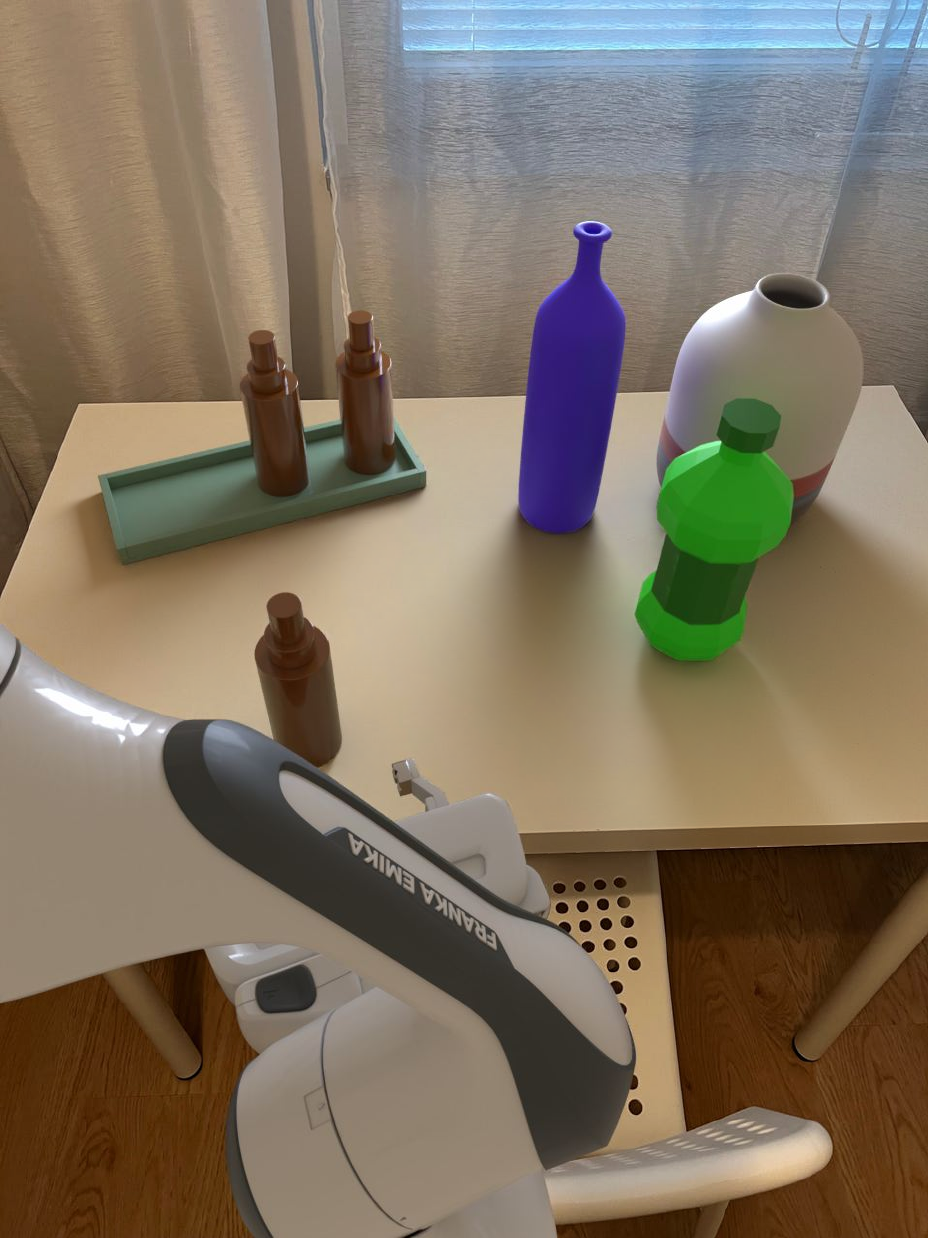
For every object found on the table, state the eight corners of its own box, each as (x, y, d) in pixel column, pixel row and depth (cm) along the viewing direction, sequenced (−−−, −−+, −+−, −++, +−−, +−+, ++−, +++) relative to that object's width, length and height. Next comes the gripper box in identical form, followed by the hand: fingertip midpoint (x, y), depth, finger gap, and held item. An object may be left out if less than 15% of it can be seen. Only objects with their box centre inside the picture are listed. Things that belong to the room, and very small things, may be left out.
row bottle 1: (265, 502, 96) (239, 359, 83) (251, 469, 99) (224, 327, 87) (316, 489, 98) (299, 346, 85) (301, 457, 101) (282, 315, 88)
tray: (122, 565, 91) (116, 549, 89) (103, 490, 98) (97, 475, 96) (426, 486, 99) (426, 470, 98) (389, 423, 106) (388, 407, 105)
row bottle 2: (353, 480, 99) (341, 337, 86) (337, 449, 102) (323, 307, 89) (402, 467, 100) (397, 326, 87) (385, 437, 104) (378, 296, 91)
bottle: (598, 537, 95) (650, 256, 72) (516, 535, 95) (543, 253, 72) (592, 483, 100) (639, 206, 78) (515, 481, 100) (539, 202, 78)
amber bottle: (285, 778, 76) (255, 644, 63) (267, 725, 79) (235, 588, 66) (350, 756, 77) (334, 621, 64) (330, 705, 80) (310, 567, 68)
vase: (763, 435, 106) (829, 234, 88) (841, 536, 96) (934, 330, 78) (624, 459, 103) (664, 254, 85) (689, 566, 92) (750, 358, 75)
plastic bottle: (703, 586, 91) (774, 363, 72) (759, 668, 84) (853, 447, 65) (608, 609, 88) (656, 385, 70) (658, 695, 82) (725, 474, 63)
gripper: (567, 903, 54) (482, 715, 62) (208, 1027, 49) (169, 805, 57) (557, 946, 58) (479, 766, 67) (229, 1063, 54) (190, 853, 62)
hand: (334, 785), depth 62 cm, fingers open, 8 cm apart
